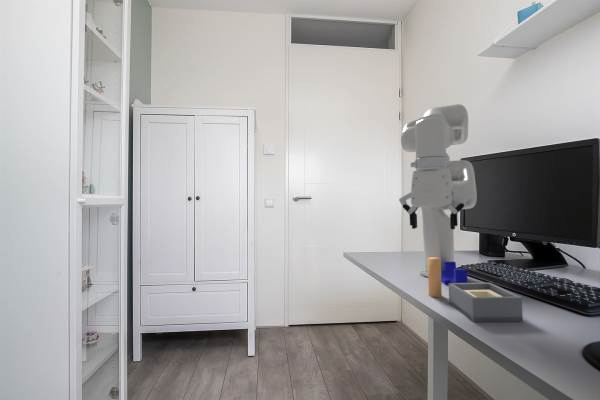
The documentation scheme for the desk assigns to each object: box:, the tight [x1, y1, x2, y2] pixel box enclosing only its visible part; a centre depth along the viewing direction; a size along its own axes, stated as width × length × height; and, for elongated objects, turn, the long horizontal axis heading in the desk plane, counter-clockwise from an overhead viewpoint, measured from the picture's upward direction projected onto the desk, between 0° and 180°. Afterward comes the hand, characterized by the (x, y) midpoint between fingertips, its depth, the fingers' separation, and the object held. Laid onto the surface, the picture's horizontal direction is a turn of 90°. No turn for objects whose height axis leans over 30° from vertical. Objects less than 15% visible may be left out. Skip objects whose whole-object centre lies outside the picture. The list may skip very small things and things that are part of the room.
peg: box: [427, 257, 443, 298], centre depth 85 cm, size 3×3×10 cm
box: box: [448, 282, 524, 323], centre depth 72 cm, size 12×10×5 cm
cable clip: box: [441, 261, 468, 286], centre depth 95 cm, size 12×4×6 cm, turn 169°
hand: (433, 228), depth 85 cm, fingers open, 9 cm apart
